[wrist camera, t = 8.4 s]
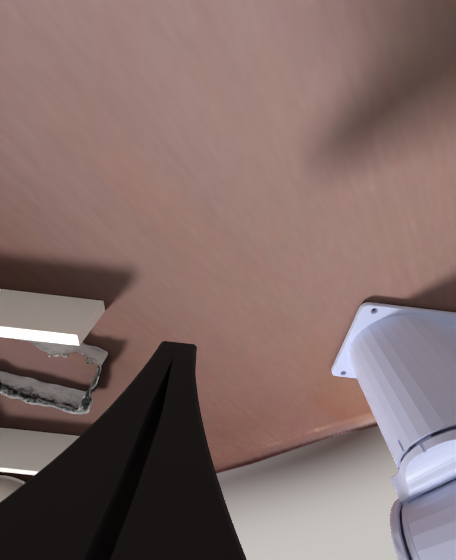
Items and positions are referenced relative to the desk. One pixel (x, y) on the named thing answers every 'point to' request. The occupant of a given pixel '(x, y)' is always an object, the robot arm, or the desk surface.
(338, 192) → the desk surface
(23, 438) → the box
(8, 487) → the lidded jar
